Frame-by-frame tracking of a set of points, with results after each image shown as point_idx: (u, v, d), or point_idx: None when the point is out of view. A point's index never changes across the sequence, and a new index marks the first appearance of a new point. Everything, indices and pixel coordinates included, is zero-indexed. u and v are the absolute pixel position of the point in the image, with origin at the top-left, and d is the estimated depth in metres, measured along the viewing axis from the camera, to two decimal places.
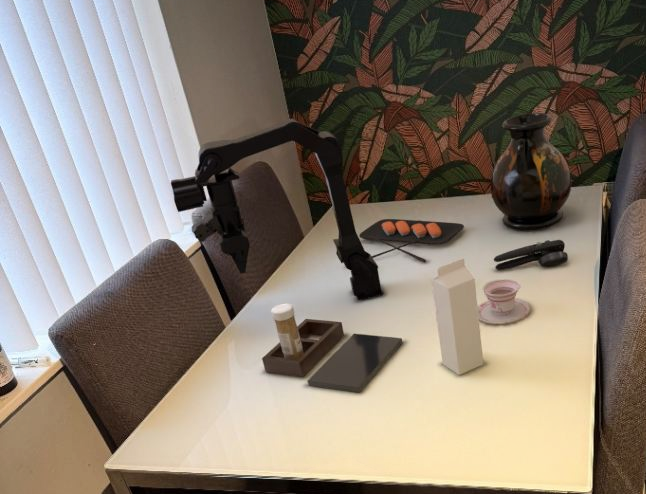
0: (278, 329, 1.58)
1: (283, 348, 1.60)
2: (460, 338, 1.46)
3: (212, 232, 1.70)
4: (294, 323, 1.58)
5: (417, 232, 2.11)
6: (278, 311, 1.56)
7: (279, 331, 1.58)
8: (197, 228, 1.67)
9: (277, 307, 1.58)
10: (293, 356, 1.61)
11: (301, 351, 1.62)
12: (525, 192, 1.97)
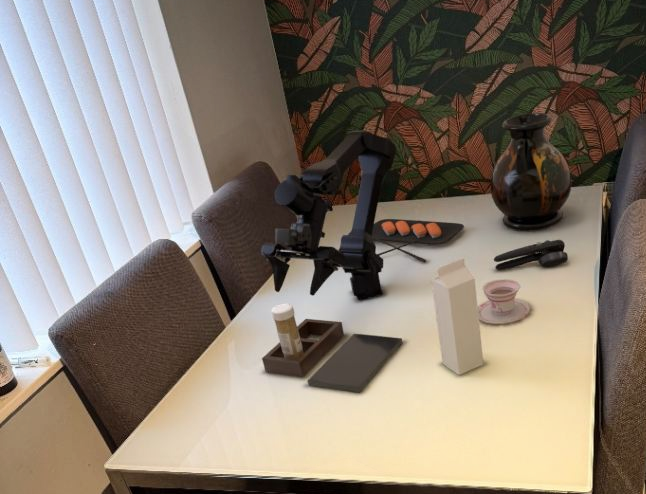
0: (278, 329, 1.58)
1: (283, 348, 1.60)
2: (460, 338, 1.46)
3: (302, 241, 1.59)
4: (294, 323, 1.58)
5: (417, 232, 2.11)
6: (278, 311, 1.56)
7: (279, 331, 1.58)
8: (304, 227, 1.55)
9: (277, 307, 1.58)
10: (293, 356, 1.61)
11: (301, 351, 1.62)
12: (525, 192, 1.97)
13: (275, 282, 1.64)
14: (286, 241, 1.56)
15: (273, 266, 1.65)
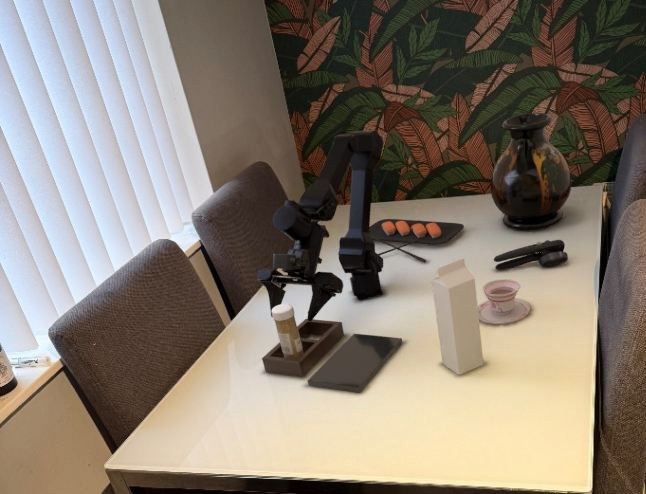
0: (278, 329, 1.58)
1: (283, 348, 1.60)
2: (460, 338, 1.46)
3: (300, 267, 1.57)
4: (294, 323, 1.58)
5: (417, 232, 2.11)
6: (278, 311, 1.56)
7: (279, 331, 1.58)
8: (303, 252, 1.54)
9: (277, 307, 1.58)
10: (293, 356, 1.61)
11: (301, 351, 1.62)
12: (525, 192, 1.97)
13: (271, 308, 1.62)
14: (284, 266, 1.55)
15: (269, 292, 1.63)
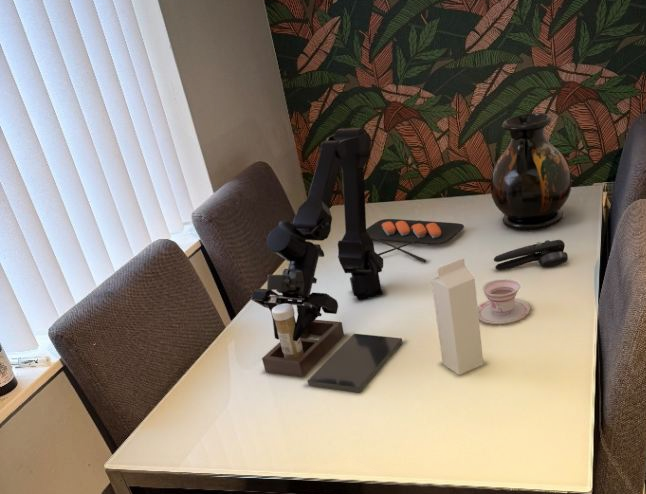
0: (278, 329, 1.58)
1: (283, 348, 1.60)
2: (460, 338, 1.46)
3: (295, 288, 1.56)
4: (294, 323, 1.58)
5: (417, 232, 2.11)
6: (278, 311, 1.56)
7: (279, 331, 1.58)
8: (297, 273, 1.53)
9: (277, 307, 1.58)
10: (293, 356, 1.61)
11: (301, 351, 1.62)
12: (525, 192, 1.97)
13: (275, 329, 1.60)
14: (278, 288, 1.54)
15: None
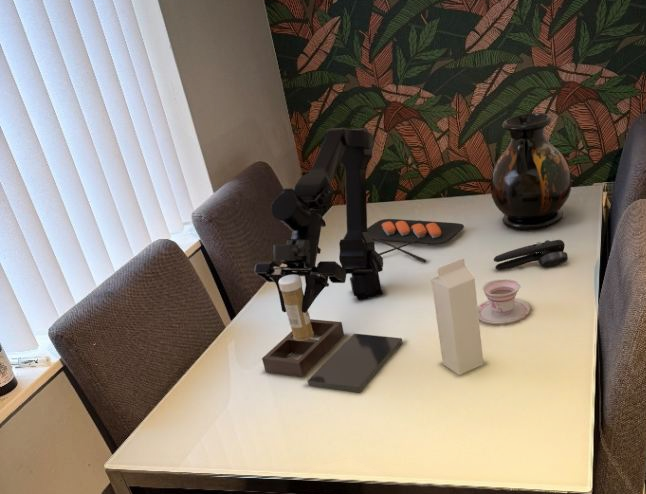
0: (286, 301, 1.53)
1: (291, 321, 1.55)
2: (460, 338, 1.46)
3: (302, 257, 1.52)
4: (302, 294, 1.54)
5: (417, 232, 2.11)
6: (286, 282, 1.51)
7: (287, 303, 1.53)
8: (305, 241, 1.49)
9: (284, 278, 1.53)
10: (302, 329, 1.56)
11: (309, 323, 1.57)
12: (525, 192, 1.97)
13: (282, 302, 1.55)
14: (286, 257, 1.49)
15: (278, 285, 1.56)
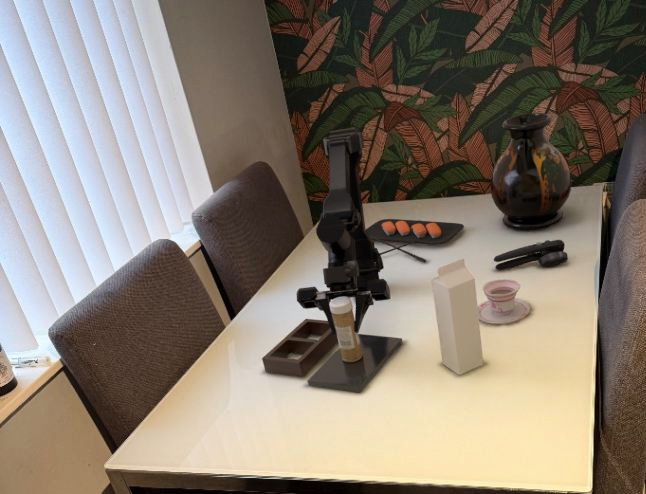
0: (339, 323, 1.53)
1: (343, 343, 1.55)
2: (460, 338, 1.46)
3: (350, 278, 1.53)
4: (353, 315, 1.54)
5: (417, 232, 2.11)
6: (340, 304, 1.51)
7: (340, 325, 1.53)
8: (356, 262, 1.50)
9: (334, 301, 1.53)
10: (355, 350, 1.57)
11: (359, 343, 1.58)
12: (525, 192, 1.97)
13: (331, 325, 1.55)
14: (340, 279, 1.49)
15: (325, 309, 1.55)
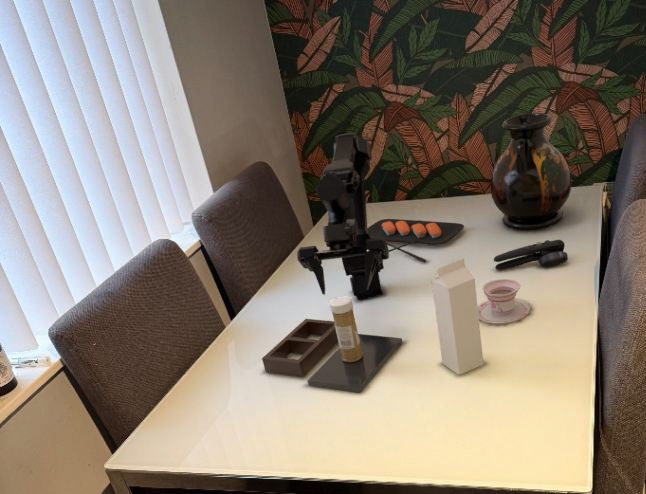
0: (339, 323, 1.53)
1: (343, 343, 1.56)
2: (460, 338, 1.46)
3: (349, 237, 1.57)
4: (353, 314, 1.54)
5: (417, 232, 2.11)
6: (340, 304, 1.51)
7: (340, 325, 1.53)
8: (355, 220, 1.54)
9: (334, 301, 1.53)
10: (355, 349, 1.57)
11: (359, 343, 1.58)
12: (525, 192, 1.97)
13: (320, 284, 1.59)
14: (339, 236, 1.53)
15: (314, 269, 1.59)
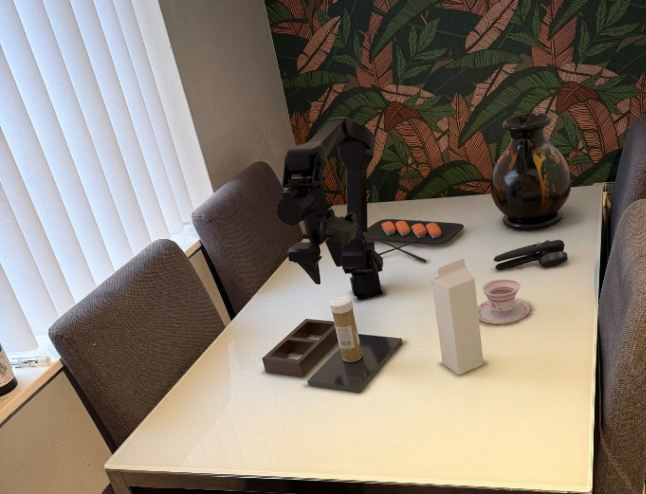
0: (339, 323, 1.53)
1: (343, 343, 1.56)
2: (460, 338, 1.46)
3: None
4: (353, 314, 1.54)
5: (417, 232, 2.11)
6: (340, 304, 1.51)
7: (340, 325, 1.53)
8: None
9: (334, 301, 1.53)
10: (355, 349, 1.57)
11: (359, 343, 1.58)
12: (525, 192, 1.97)
13: (319, 277, 1.64)
14: (353, 236, 1.62)
15: (316, 265, 1.61)
